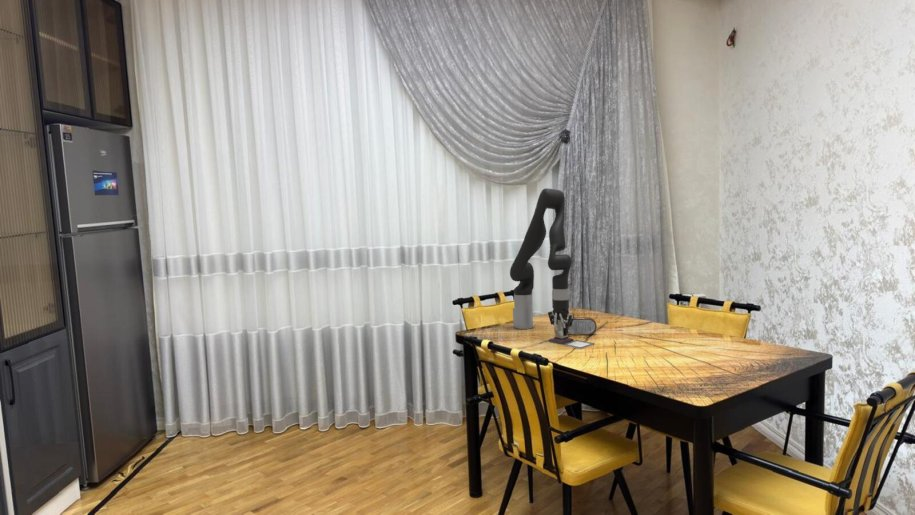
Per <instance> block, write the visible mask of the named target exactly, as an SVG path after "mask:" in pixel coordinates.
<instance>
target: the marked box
mask: <svg viewBox="0 0 915 515" xmlns="http://www.w3.org/2000/svg"><path fill="white" fill-rule="evenodd" d="M594 345H596V344H595V343H594V342H589V341H584V340H580V339H575V340H574V341H572V342H568V343H565V344H562V346H565V347H569V348H574V349H578V350H583V349H586V348H589V347H592V346H594Z"/></svg>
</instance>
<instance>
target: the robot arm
mask: <svg viewBox="0 0 915 515" xmlns="http://www.w3.org/2000/svg"><path fill="white" fill-rule="evenodd" d="M565 198H566V197H565V194H564V192H563V190H560V189H555V188H554V189H553V188H544V189H541V191H540V193H539V195H538V199H537V202H536V206H535V210H534V212H533V216H532V218H531V221H530V222H529V226H528V228H527V230H526V233H525V235H524V237H523V241H522V243H521V245H520V248H519V250H518V253H517V254H516V257H515V258H514V260H513V262H512V264H511V267H510V268H509V276H510V279H511V280H512V281H514V282H518V285H517V286H516V287H515V288H514V289H513V301H514V302H513V303H514V307H513V308H512V320H513V321H512V323H513V325H512V326H513V328H515V329H519V330H527V329H528V330H529V329H533V328H534V312H533V311H534V309H533V306H534V304H533V289H534V285H535V283H534V282H535V281H534V280H535V270H534V267H533V265H532V263H530V262H529V261H530V259H531V258H532V257H533V256H534V255H535V254H536V253H537V252H538V251H539V250H540V249H541V247H542V246H543V243H544V242H545V241H544V240H545V239H546V237H547V228H546V223H545V220H544V219H545V213H546V211H547V209H548V210H549V209H550V210H554V213H555V216H554V220H553V222H552V223H551V226H550V228H549V231H548V240H549V256H548V259H547V266H548V268H549V269H550V270H551V271H561V273H559V274H556V275H553V276H552V282H551V283H552V292H551V299H552V302H551V303H552V310H551V311H548V312H547V315H548V318H549V321H550V322H549V323H550V325H552V326H553V327H554V328H555V324H557V323H558V320H561V322H562V324H563V327H564V328H563V336H567V334H568V335H569V333H568V327H571V326H572V323H573V319H574V317H575V314H571V313H570V312H569V308H570V291H569V275H570V271H571V267H572V264H573V262H572V257H571V256H570V255H569V254H564V253H563V254H556V253H558V252H562V251H564V250H565V249H566V247H567V246H566V239H565V238H566V237H565V211H566V210H565V209H566V208H565V206H566V205H565V204H566V199H565Z"/></svg>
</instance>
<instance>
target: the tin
mask: <svg viewBox="0 0 915 515" xmlns="http://www.w3.org/2000/svg"><path fill="white" fill-rule="evenodd" d="M596 330H597V322H596V320H595V319H594V318H593V317H590V316H574V319H573V323H572V326H571V327H568V335H572V336H591V335H593V334H594V333H595V332H596Z"/></svg>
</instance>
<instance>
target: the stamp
mask: <svg viewBox="0 0 915 515" xmlns="http://www.w3.org/2000/svg"><path fill="white" fill-rule="evenodd" d="M563 328H564V327H563V324H562V322H561V320H558V323H557V324H555V327H554V337H553V338H554V339H558V340H565V339H568V338H570V336H568V335H569V333H568V334H567V336H563Z"/></svg>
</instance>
